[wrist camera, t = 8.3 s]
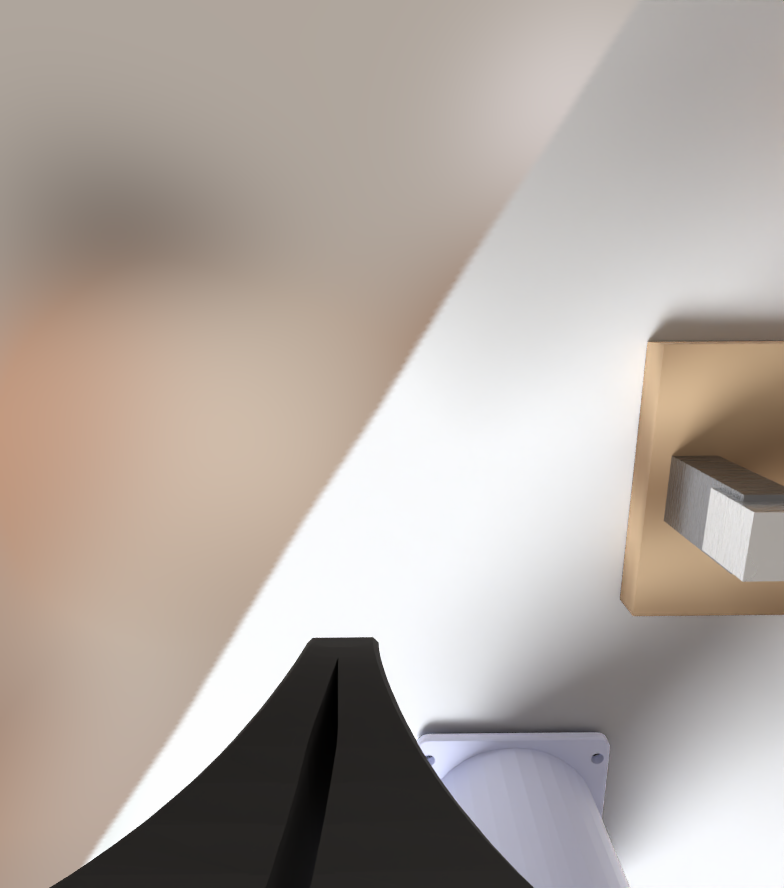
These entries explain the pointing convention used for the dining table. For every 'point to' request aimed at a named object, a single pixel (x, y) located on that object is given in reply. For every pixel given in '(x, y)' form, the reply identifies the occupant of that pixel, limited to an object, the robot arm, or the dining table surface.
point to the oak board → (700, 434)
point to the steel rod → (728, 515)
